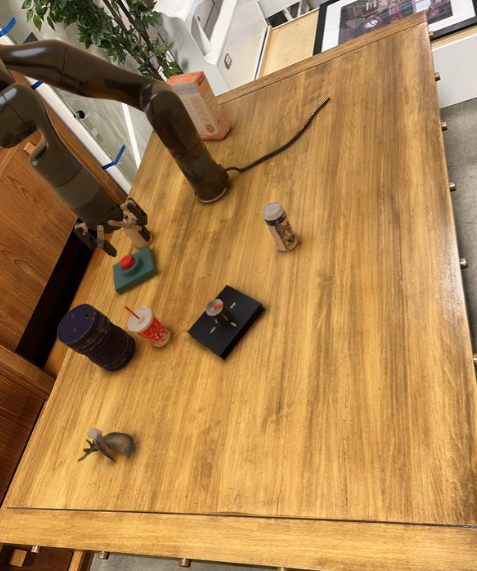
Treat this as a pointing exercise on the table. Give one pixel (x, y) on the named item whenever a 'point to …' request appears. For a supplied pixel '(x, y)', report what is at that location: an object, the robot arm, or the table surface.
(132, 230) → the candle
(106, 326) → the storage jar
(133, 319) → the beverage cup
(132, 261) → the button
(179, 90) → the cracker box
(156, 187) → the table surface
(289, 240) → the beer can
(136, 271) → the button block
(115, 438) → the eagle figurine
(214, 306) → the dial
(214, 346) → the control panel
